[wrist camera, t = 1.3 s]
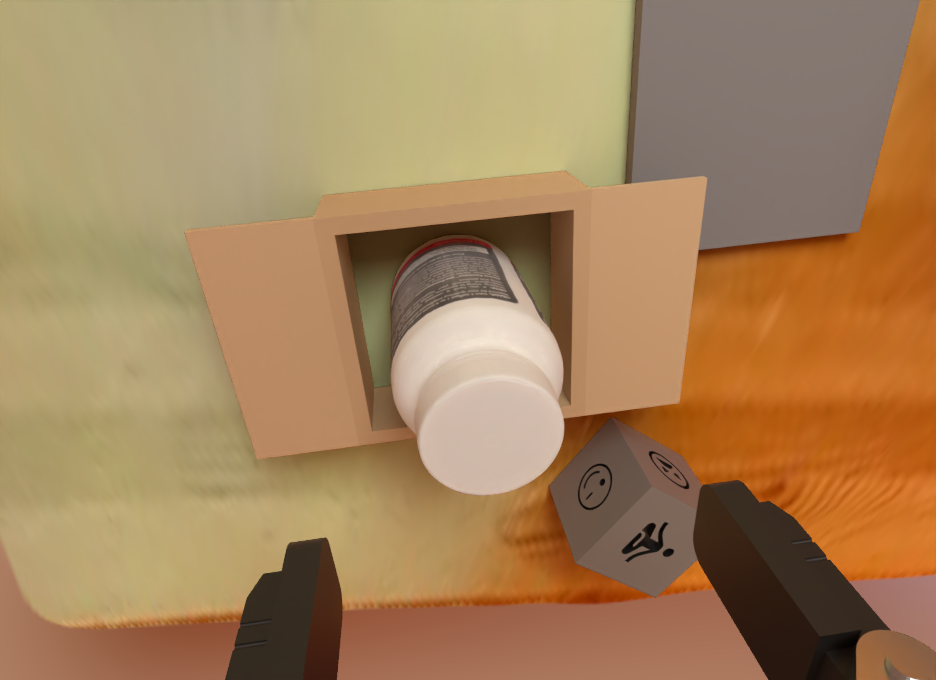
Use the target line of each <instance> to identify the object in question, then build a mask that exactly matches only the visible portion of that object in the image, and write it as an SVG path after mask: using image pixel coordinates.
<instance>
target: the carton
mask: <svg viewBox="0 0 936 680" xmlns="http://www.w3.org/2000/svg"><path fill="white" fill-rule="evenodd" d="M706 186H707V177H704V176H699V177H689V178H679V179H670V180H660V181H651V182H641V183H632V184H622V185H612V186H603V187H593V188H588V187H587V186H586V185H584V184H583V183H582V182H580V181H579V180H578V179H576V178H575V177H574V176H572V175H571V174H570V173H568V172H567V171H558V172H548V173H538V174H528V175H519V176H509V177H499V178H489V179H479V180H470V181H460V182H450V183H440V184H430V185H420V186H411V187H401V188H391V189H381V190H371V191H362V192H352V193H342V194H332V195H323V196H322V198H321V201H320V203H319V205H318V207H317V210H316V212H315V214H314V216H313V217H306V218H296V219H287V220H277V221H268V222H258V223H249V224H239V225H229V226H220V227H210V228H201V229H191V230H187V231H186V232H185V236H186V239H187V242H188V246H189V249H190V252H191V255H192V258H193V261H194V264H195V267H196V271H197V274H198V277H199V280H200V283H201V286H202V289H203V292H204V295H205V299H206V302H207V305H208V308H209V311H210V314H211V317H212V320H213V323H214V327H215V330H216V333H217V336H218V339H219V342H220V345H221V348H222V352H223V355H224V358H225V361H226V364H227V367H228V370H229V373H230V376H231V380H232V383H233V386H234V389H235V392H236V395H237V398H238V401H239V405H240V408H241V411H242V414H243V417H244V420H245V423H246V426H247V429H248V433H249V436H250V439H251V442H252V445H253V448H254V451H255V454H256V457H257V459H264V458H271V457H279V456H286V455H294V454H301V453H309V452H316V451H324V450H331V449H339V448H346V447H354V446H361V445H369V444H376V443H384V442H391V441H399V440H406V439H414V438H417V436H416V434H415V433H414V432H413V431H412V430H411V429H410V428H409V427H408V426H407V425H406V423H405V422H404V421H403V419H402V418H401V416H400V414H399V412H398V410H397V407H396V405H395V402H394V398H393V393H392V386H386V387H378V388H374V383H373V378H372V372H371V367H370V361H369V356H368V350H367V345H366V339H365V334H364V328H363V323H362V317H361V312H360V306H359V301H358V295H357V290H356V284H355V279H354V273H353V268H352V262H351V256H350V251H349V245H348V240H347V234H351V233H361V232H370V231H380V230H389V229H398V228H408V227H417V226H426V225H436V224H445V223H454V222H464V221H473V220H482V219H492V218H501V217H510V216H520V215H529V214H538V213H548V212H551V332H552V333H553V335H554V337H555V339H556V341H557V344H558V347H559V349H560V352H561V356H562V361H563V369H564V372H563V385H562V390H561V393H560V396H559V399H558V403H559V406H560V408H561V411H562V414H563V419H564V418H571V417H579V416H586V415H594V414H601V413H609V412H616V411H624V410H631V409H639V408H646V407H654V406H661V405H669V404H676V403H679V402H680V394H681V386H682V378H683V370H684V362H685V354H686V346H687V338H688V330H689V322H690V314H691V306H692V298H693V290H694V282H695V274H696V266H697V258H698V250H699V242H700V234H701V226H702V218H703V210H704V202H705V194H706Z"/></svg>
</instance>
